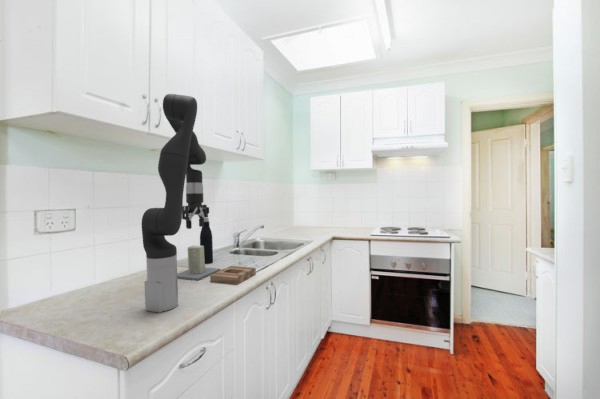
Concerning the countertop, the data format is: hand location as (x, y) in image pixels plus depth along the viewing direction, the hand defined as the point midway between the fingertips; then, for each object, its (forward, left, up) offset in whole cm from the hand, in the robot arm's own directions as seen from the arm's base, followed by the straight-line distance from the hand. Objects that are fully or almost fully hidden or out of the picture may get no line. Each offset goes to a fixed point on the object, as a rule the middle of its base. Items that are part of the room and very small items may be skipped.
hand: (195, 227), depth 135 cm
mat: (0, 0, -22) cm, 22 cm away
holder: (0, -20, -22) cm, 30 cm away
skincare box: (0, 0, -21) cm, 21 cm away
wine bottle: (+20, +10, -22) cm, 31 cm away
